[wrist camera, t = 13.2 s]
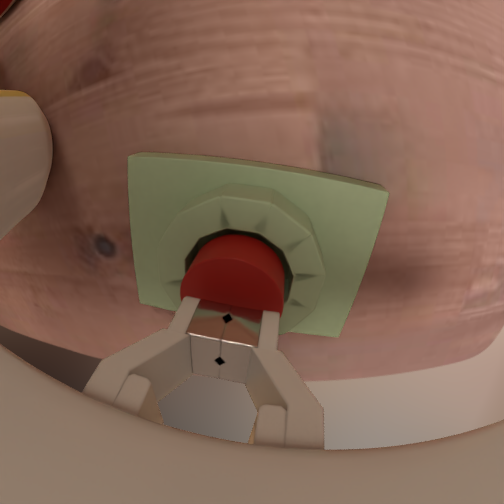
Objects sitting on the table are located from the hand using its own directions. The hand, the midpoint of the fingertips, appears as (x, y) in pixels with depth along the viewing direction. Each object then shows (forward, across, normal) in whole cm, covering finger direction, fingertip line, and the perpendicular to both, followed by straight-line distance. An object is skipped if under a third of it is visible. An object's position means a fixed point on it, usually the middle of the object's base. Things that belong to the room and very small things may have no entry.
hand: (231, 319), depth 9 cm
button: (+2, 0, 0) cm, 2 cm away
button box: (+5, 0, 0) cm, 5 cm away
